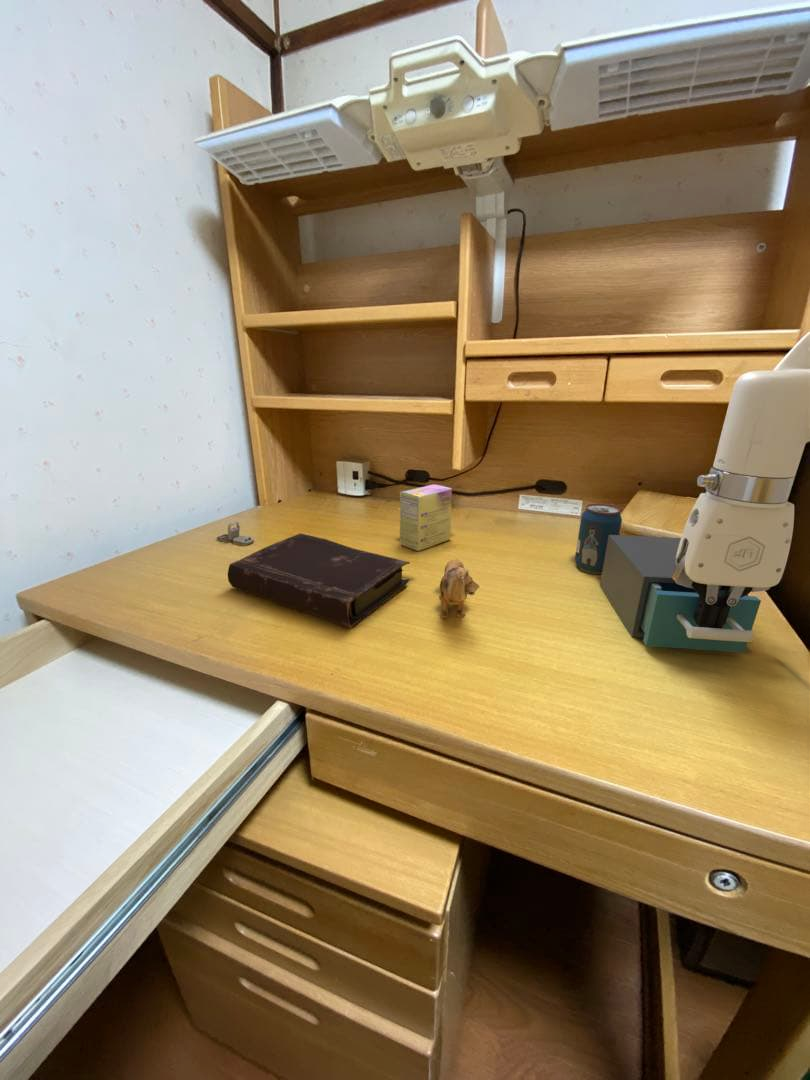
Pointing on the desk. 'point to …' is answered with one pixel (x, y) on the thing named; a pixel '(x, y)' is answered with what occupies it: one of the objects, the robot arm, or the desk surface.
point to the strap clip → (235, 536)
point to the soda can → (596, 536)
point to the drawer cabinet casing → (636, 573)
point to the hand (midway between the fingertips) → (707, 627)
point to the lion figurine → (455, 587)
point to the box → (425, 516)
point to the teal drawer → (693, 621)
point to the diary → (320, 577)
